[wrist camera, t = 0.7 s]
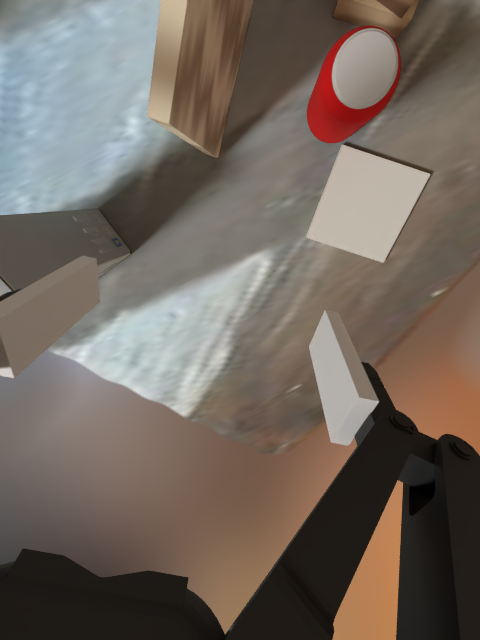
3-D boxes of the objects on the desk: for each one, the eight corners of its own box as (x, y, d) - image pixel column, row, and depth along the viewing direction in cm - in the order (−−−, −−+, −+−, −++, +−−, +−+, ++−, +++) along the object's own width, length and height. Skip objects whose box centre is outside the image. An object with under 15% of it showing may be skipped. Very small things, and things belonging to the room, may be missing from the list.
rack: (343, 200, 35) (405, 202, 19) (206, 154, 34) (147, 116, 18) (452, -58, 25) (781, -522, 9) (265, -125, 25) (249, -740, 9)
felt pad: (305, 236, 37) (306, 237, 37) (341, 145, 33) (342, 144, 32) (381, 261, 37) (383, 262, 37) (428, 174, 33) (430, 174, 32)
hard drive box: (98, 206, 39) (-57, 214, 20) (133, 252, 41) (22, 297, 23) (31, 263, 43) (-141, 311, 25) (66, 302, 46) (-69, 372, 27)
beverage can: (330, 65, 30) (363, -10, 19) (373, 103, 31) (429, 51, 20) (294, 123, 32) (306, 85, 21) (336, 156, 33) (367, 136, 22)
